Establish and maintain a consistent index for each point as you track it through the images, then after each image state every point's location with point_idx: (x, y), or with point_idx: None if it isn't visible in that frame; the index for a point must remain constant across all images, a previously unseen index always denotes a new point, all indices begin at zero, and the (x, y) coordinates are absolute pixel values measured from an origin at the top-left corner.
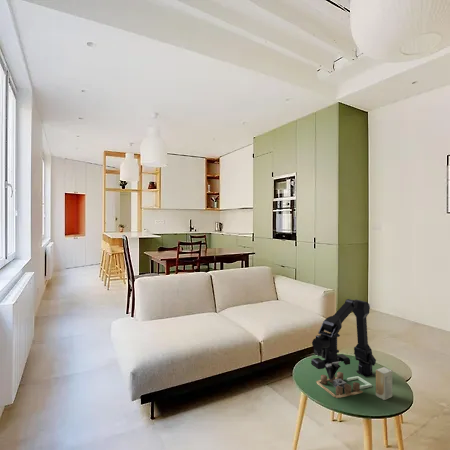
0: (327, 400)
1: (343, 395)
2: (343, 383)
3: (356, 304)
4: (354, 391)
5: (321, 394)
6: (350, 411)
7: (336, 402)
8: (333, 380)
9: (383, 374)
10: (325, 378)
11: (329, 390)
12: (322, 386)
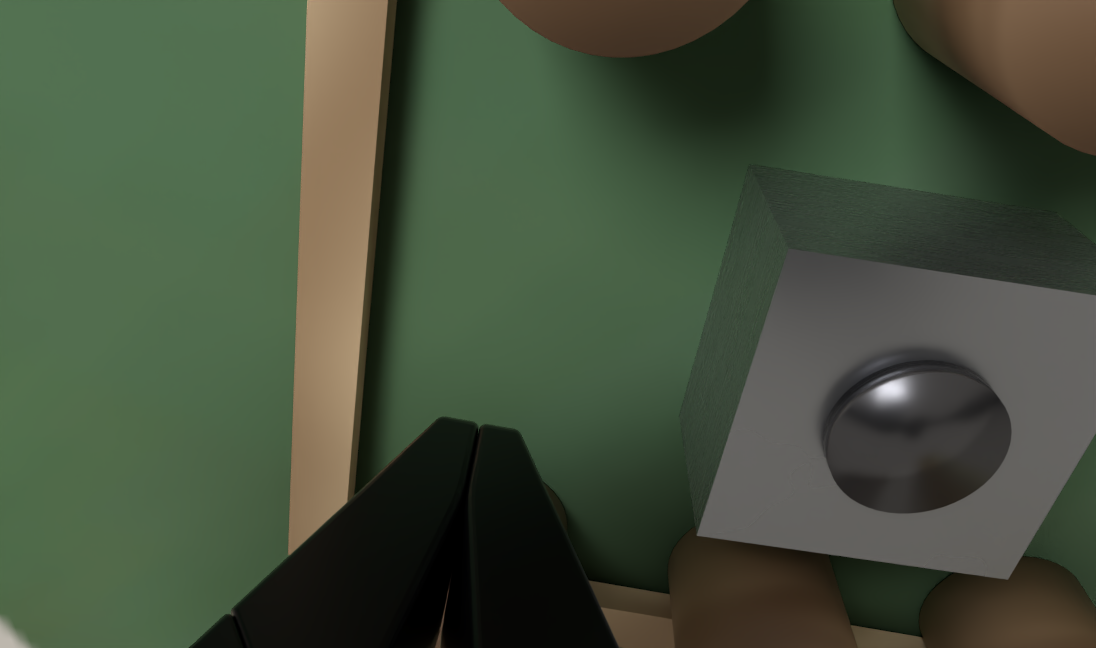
0: (55, 527)
1: None
2: (873, 558)
3: None
4: (925, 628)
5: (54, 317)
6: None
7: None
8: (779, 281)
9: None
10: (569, 36)
11: (355, 356)
12: (308, 95)
